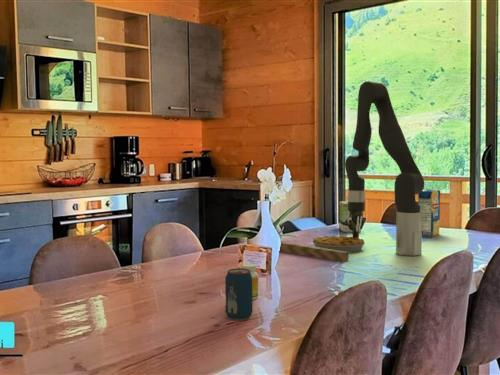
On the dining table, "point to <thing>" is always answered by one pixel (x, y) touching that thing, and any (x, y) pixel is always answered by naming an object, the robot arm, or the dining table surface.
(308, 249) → the walnut board
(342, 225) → the tea box
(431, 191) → the beverage box
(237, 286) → the soda can
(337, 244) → the pie
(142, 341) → the dining table surface
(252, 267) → the supplement bottle
